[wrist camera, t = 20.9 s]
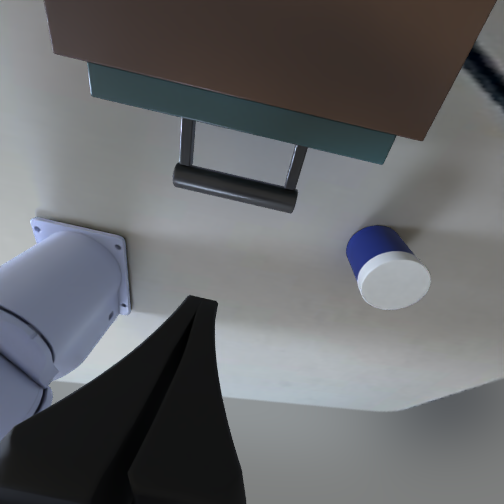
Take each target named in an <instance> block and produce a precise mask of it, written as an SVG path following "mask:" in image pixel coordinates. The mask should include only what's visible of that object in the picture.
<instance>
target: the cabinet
mask: <svg viewBox="0 0 504 504" xmlns="http://www.w3.org/2000/svg"><path fill="white" fill-rule="evenodd" d="M496 1H497V0H44V4H45V10H46V15H47V21H48V27H49V32H50V38H51V44H52V49H53V53H54V54H57V55H62V56H66V57H70V58H74V59H78V60H83V61H87V62H91V63H95V64H99V65H104V66H108V67H112V68H116V69H120V70H125V71H129V72H133V73H137V74H141V75H146V76H150V77H154V78H158V79H162V80H167V81H171V82H175V83H179V84H183V85H188V86H192V87H196V88H200V89H204V90H209V91H213V92H217V93H221V94H225V95H230V96H234V97H238V98H242V99H246V100H251V101H255V102H259V103H263V104H267V105H272V106H276V107H280V108H284V109H288V110H293V111H297V112H301V113H305V114H309V115H314V116H318V117H322V118H326V119H330V120H335V121H339V122H343V123H347V124H351V125H356V126H360V127H364V128H368V129H372V130H376V131H381V132H385V133H389V134H393V135H397V136H402V137H406V138H410V139H414V140H418V141H423V140H424V138H425V136H426V134H427V132H428V130H429V128H430V127H431V125H432V123H433V121H434V119H435V117H436V115H437V113H438V111H439V109H440V108H441V106H442V104H443V102H444V100H445V98H446V96H447V94H448V92H449V90H450V89H451V87H452V85H453V83H454V81H455V79H456V77H457V75H458V73H459V71H460V70H461V68H462V66H463V64H464V62H465V60H466V58H467V56H468V54H469V52H470V51H471V49H472V47H473V45H474V43H475V41H476V39H477V37H478V35H479V33H480V31H481V30H482V28H483V26H484V24H485V22H486V20H487V18H488V16H489V14H490V12H491V11H492V9H493V7H494V5H495V3H496Z"/></svg>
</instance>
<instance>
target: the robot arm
mask: <svg viewBox="0 0 504 504" xmlns="http://www.w3.org/2000/svg"><path fill="white" fill-rule="evenodd" d="M30 222H31V226H32V229H33V232H34V236H35V239H36V242H37V244H36V245H34V246H33V247H31V248H29V249H28V250H26V251H24V252H23V253H21V254H19V255H18V256H16V257H14V258H13V259H11V260H9V261H8V262H6V263H4V264H3V265H1V266H0V504H246V497H245V490H244V483H243V476H242V470H241V466H240V463H239V460H238V457H237V453H236V450H235V447H234V443H233V440H232V436H231V432H230V429H229V425H228V421H227V417H226V413H225V408H224V404H223V399H222V394H221V389H220V383H219V377H218V370H217V362H216V351H215V318H216V312H217V307H218V303H217V302H216V301H214V300H209V299H205V298H200V297H196V296H191V295H189V296H187V298H186V299H185V300H184V301H183V303H182V304H181V305H180V306H179V307H178V308H177V309H176V311H175V312H174V313H173V314H172V315H171V316H170V317H169V318H168V319H167V320H166V321H165V322H164V323H163V324H162V325H161V326H160V327H159V328H158V329H157V330H156V331H155V332H154V333H152V334H151V335H150V336H149V337H148V338H147V339H146V340H145V341H144V342H142V343H141V344H140V345H139V346H138V347H137V348H135V349H134V350H133V351H132V352H130V353H129V354H128V355H127V356H125V357H124V358H123V359H121V360H120V361H119V362H118V363H116V364H115V365H113V366H112V367H111V368H109V369H108V370H106V371H105V372H104V373H102V374H101V375H99V376H98V377H96V378H95V379H93V380H92V381H90V382H89V383H87V384H86V385H84V386H83V387H81V388H79V389H78V390H76V391H75V392H73V393H71V394H70V395H68V396H67V397H65V398H63V399H62V400H60V401H58V402H57V403H55V404H53V405H51V403H52V398H53V393H52V390H51V388H50V387H49V386H48V385H49V384H50V383H51V382H52V381H53V380H56V379H59V378H61V377H63V376H65V375H66V374H68V373H70V372H71V371H73V370H74V369H75V368H77V367H78V366H79V365H80V364H81V363H82V362H83V361H84V360H85V359H86V358H87V356H88V355H89V354H90V352H91V351H92V350H93V348H94V347H95V346H96V344H97V343H98V342H99V340H100V339H101V338H102V336H103V335H104V334H105V332H106V331H107V330H108V328H109V327H110V326H111V324H112V323H113V322H114V320H115V319H116V318H117V316H118V315H119V314H122V315H129V314H130V312H131V305H130V293H129V281H128V268H127V256H126V244H125V239H124V238H123V237H122V236H119V235H115V234H110V233H106V232H101V231H97V230H93V229H88V228H84V227H79V226H75V225H71V224H66V223H62V222H57V221H53V220H48V219H44V218H40V217H35V218H33V219H31V220H30ZM118 245H119V246H120V247H121V248H120V247H119V246H118Z"/></svg>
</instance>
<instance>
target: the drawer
mask: <svg viewBox="0 0 504 504" xmlns="http://www.w3.org/2000/svg"><path fill="white" fill-rule="evenodd" d="M87 66H88V74H89V82H90V90H91V96H93V97H96V98H101V99H105V100H109V101H113V102H118V103H122V104H126V105H130V106H135V107H139V108H143V109H147V110H152V111H156V112H160V113H164V114H169V115H173V116H177V117H181V141H180V162H178V163H177V164H176V166H175V168H174V172H173V184H174V186H175V187H178V188H183V189H187V190H191V191H196V192H200V193H204V194H209V195H213V196H217V197H222V198H226V199H230V200H235V201H239V202H243V203H248V204H252V205H256V206H261V207H265V208H269V209H274V210H278V211H282V212H287V213H292V212H293V210H294V207H295V204H296V200H297V195H298V190H297V189H295V188H296V185H297V182H298V178H299V175H300V172H301V168H302V165H303V162H304V159H305V155H306V152H307V149H308V147H309V148H313V149H317V150H321V151H326V152H330V153H334V154H338V155H342V156H347V157H351V158H355V159H359V160H364V161H368V162H372V163H376V164H381V165H382V164H383V163H384V161H385V159H386V157H387V155H388V153H389V151H390V149H391V146H392V144H393V142H394V140H395V138H396V135H393V134H389V133H385V132H381V131H376V130H372V129H368V128H364V127H360V126H356V125H351V124H347V123H343V122H339V121H335V120H330V119H326V118H322V117H318V116H314V115H309V114H305V113H301V112H297V111H293V110H288V109H284V108H280V107H276V106H272V105H267V104H263V103H259V102H255V101H251V100H246V99H242V98H238V97H234V96H230V95H225V94H221V93H217V92H213V91H209V90H204V89H200V88H196V87H192V86H188V85H183V84H179V83H175V82H171V81H167V80H162V79H158V78H154V77H150V76H146V75H141V74H137V73H133V72H129V71H125V70H120V69H116V68H112V67H108V66H104V65H99V64H95V63H91V62H87ZM196 121H198V122H203V123H207V124H211V125H215V126H219V127H224V128H228V129H232V130H236V131H241V132H245V133H249V134H253V135H258V136H262V137H266V138H270V139H275V140H279V141H283V142H287V143H292V144H296V145H295V149H294V153H293V156H292V160H291V164H290V167H289V171H288V175H287V178H286V182H285V187H284V186H279V185H275V184H271V183H267V182H262V181H258V180H254V179H249V178H245V177H241V176H236V175H232V174H228V173H223V172H219V171H215V170H211V169H206V168H202V167H198V166H193V165H192V164H193V152H194V139H195V125H196Z"/></svg>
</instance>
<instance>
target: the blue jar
mask: <svg viewBox="0 0 504 504" xmlns="http://www.w3.org/2000/svg"><path fill="white" fill-rule="evenodd" d="M346 254H347V257H348V260H349V262H350V265H351V267H352V270H353V272H354V275H355V277H356V280H357V283H358V287H359V290H360V292H361V295H362V297H363V299H364V300H365V301H366V302H367V303H368V304H369V305H371V306H373V307H375V308H378V309H382V310H397V309H402V308H405V307H408V306H410V305H412V304H414V303H416V302H417V301H419V300H420V299H421V298H422V297H423V296H424V295H425V294H426V293H427V291H428V290H429V288H430V285H431V275H430V272H429V270H428V269H427V268H426V267H425V265H424V264H423V263H422V262H421V261H420V259H419V258H417V257H416V256H415V255H414V253H413V252H412V251H411V250H410V249H409V247H408V246H407V245H406V244H405V243H404V241H403V240H402V239H401V238H400V237H399V235H398V234H397V233H396V232H395V231H394V230H393V229H391V228H389V227H386V226H379V225H376V226H369V227H366V228H364V229H362V230H360V231H358V232H357V233H356V234H354V235H353V236H352V238H351V239H350V241H349V242H348V245H347V248H346Z"/></svg>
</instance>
